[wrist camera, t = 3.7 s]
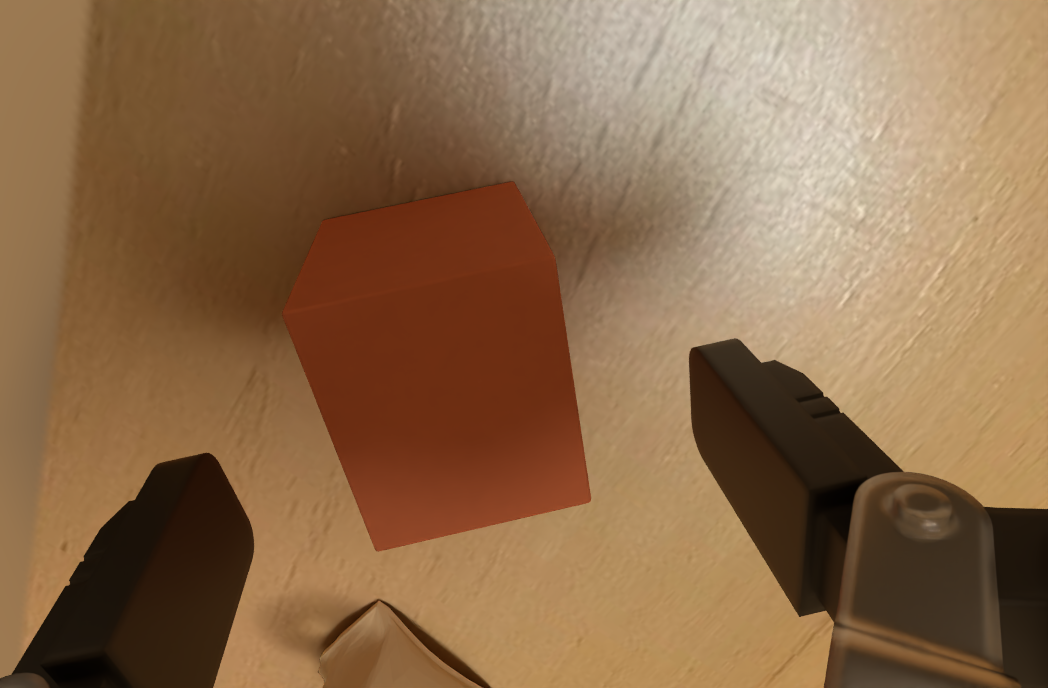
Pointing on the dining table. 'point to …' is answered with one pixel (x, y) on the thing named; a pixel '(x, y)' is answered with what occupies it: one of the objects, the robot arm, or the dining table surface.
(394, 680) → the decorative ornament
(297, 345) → the orange block
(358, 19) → the dining table surface
